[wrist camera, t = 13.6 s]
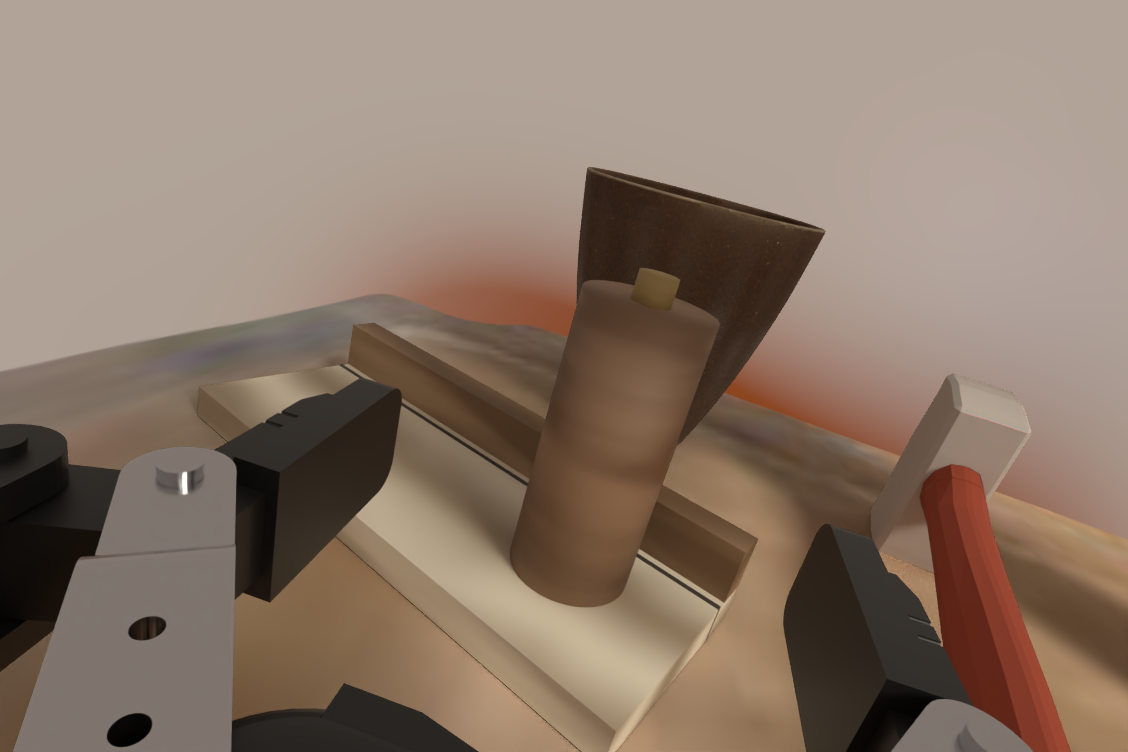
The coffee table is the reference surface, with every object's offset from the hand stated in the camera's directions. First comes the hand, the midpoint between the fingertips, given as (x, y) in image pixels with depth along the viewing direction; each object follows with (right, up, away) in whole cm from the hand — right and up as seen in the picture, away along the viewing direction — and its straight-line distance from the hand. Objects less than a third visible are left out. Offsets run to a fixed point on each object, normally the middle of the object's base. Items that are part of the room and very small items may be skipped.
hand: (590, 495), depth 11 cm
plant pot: (+4, -1, +32) cm, 33 cm away
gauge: (0, -5, +15) cm, 16 cm away
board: (-6, -4, +17) cm, 19 cm away
